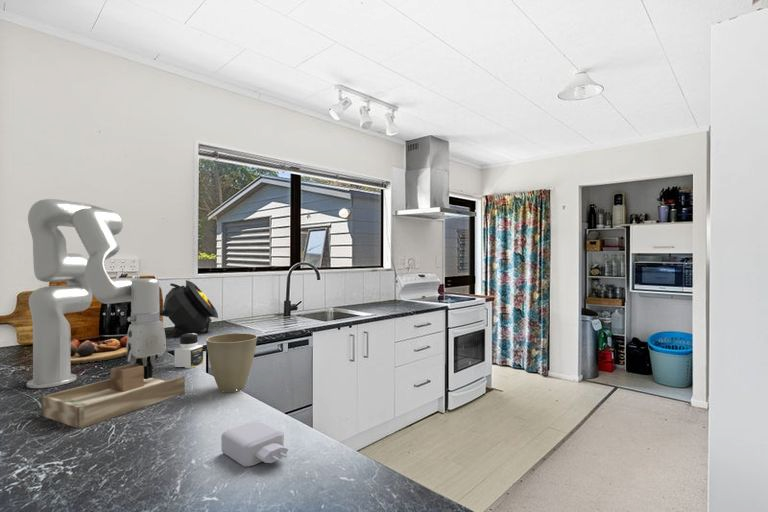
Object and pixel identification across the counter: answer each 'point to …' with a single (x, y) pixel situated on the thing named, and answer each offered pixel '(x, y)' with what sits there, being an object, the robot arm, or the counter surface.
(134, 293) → the robot arm
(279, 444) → the charger
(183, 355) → the medicine bottle
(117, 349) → the wooden plate with food
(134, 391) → the box
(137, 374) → the walnut block
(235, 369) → the plant pot
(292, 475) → the counter surface
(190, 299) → the cauldron
